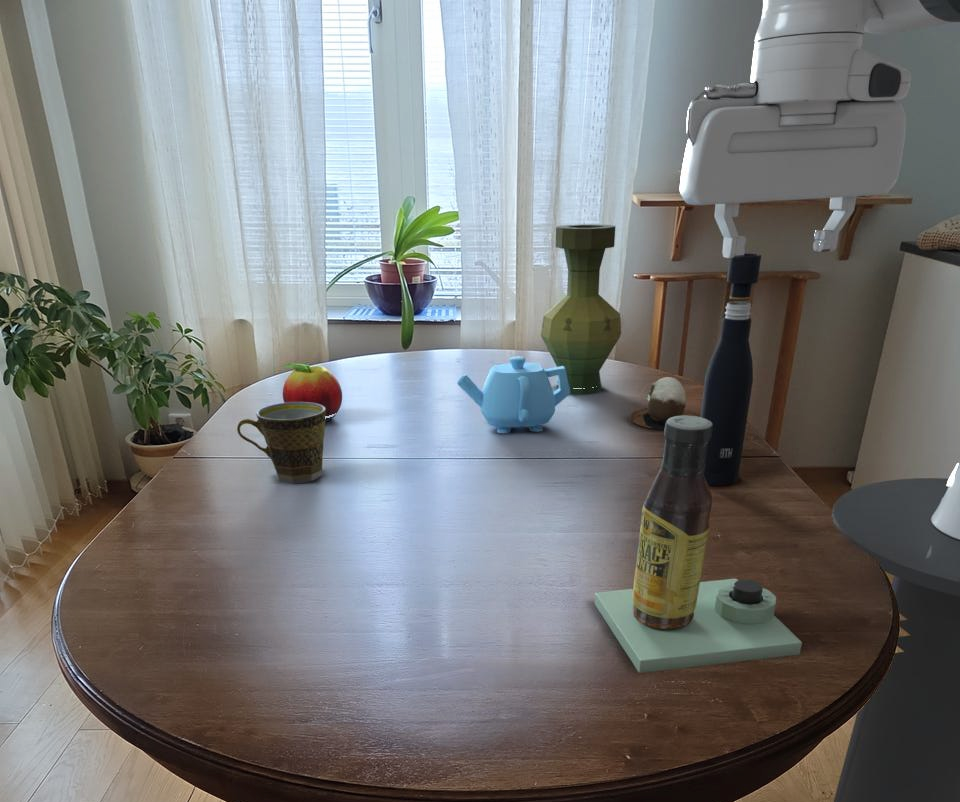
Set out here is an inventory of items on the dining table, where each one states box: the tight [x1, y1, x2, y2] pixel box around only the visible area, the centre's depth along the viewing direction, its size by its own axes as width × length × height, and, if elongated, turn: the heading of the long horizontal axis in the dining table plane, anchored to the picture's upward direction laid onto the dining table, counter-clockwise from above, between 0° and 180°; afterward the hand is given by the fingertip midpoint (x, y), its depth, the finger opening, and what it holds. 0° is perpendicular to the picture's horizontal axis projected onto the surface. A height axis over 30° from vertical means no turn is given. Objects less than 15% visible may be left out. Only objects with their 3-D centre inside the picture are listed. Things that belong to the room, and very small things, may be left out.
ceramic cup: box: [236, 402, 326, 484], centre depth 121 cm, size 13×10×10 cm
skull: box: [629, 376, 697, 431], centre depth 146 cm, size 12×10×10 cm
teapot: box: [456, 356, 571, 434], centre depth 143 cm, size 20×17×12 cm
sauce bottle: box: [632, 415, 713, 630], centre depth 76 cm, size 6×6×20 cm
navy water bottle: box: [699, 253, 762, 487], centre depth 112 cm, size 6×6×30 cm
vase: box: [540, 223, 622, 395], centre depth 161 cm, size 16×16×30 cm
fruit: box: [282, 362, 343, 423], centre depth 149 cm, size 11×11×10 cm
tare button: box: [732, 579, 764, 605], centre depth 81 cm, size 3×3×2 cm
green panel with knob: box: [593, 578, 803, 674], centre depth 81 cm, size 16×14×3 cm
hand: (778, 254), depth 78 cm, fingers open, 8 cm apart
